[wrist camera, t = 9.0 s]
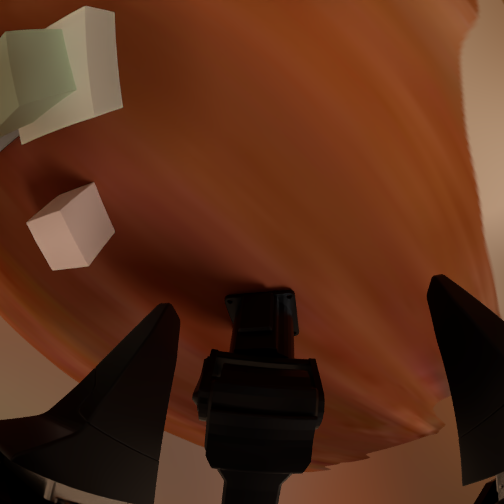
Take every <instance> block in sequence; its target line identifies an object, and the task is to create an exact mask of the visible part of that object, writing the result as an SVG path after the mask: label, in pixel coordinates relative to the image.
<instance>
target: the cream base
mask: <svg viewBox="0 0 504 504" xmlns="http://www.w3.org/2000/svg"><path fill="white" fill-rule="evenodd" d="M46 29H62V31H63V36H64V41H65V46H66V50H67V54H68V59H69V63H70V67H71V70H72V74H73V78H74V81H75V85H76V88H77V90H76V91H74V92H73V93H71V94H70V95H68V96H67V97H65V98H64V99H63V100H61V101H60V102H58V103H57V104H56V105H54V106H53V107H52V108H50V109H49V110H48V111H47V112H45V113H44V114H43V115H41V116H40V117H39V118H38V119H37V120H35V121H34V122H33V123H31V124H28V125H26V126H24V127H21V128H19V129H18V130H19V135H20V139H21V144H22V145H23V144H25V143H27V142H29V141H32V140H34V139H36V138H39V137H41V136H43V135H46V134H48V133H51V132H53V131H56V130H59V129H61V128H64V127H67V126H69V125H72V124H75V123H78V122H81V121H84V120H87V119H90V118H94V117H97V116H99V115H102V114H105V113H108V112H111V111H114V110H117V109H120V108H123V104H122V97H121V89H120V81H119V72H118V62H117V51H116V36H115V12H111V11H107V10H103V9H98V8H94V7H89V6H84V7H82V8H80V9H78V10H76V11H74V12H73V13H71V14H69V15H67V16H65V17H64V18H62V19H60V20H59V21H57V22H55V23H54V24H52V25H50V26H49V27H47V28H46Z"/></svg>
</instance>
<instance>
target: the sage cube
mask: <svg viewBox="0 0 504 504" xmlns="http://www.w3.org/2000/svg"><path fill="white" fill-rule="evenodd" d="M76 90H77V88H76V85H75V81H74V78H73V74H72V70H71V67H70V63H69V59H68V54H67V50H66V46H65V41H64V36H63V31H62V29H30V30H16V31H6V32H5V33H4V34H3V35H2V36H1V37H0V137H2V136H4V135H6V134H8V133H10V132H13V131H15V130H17V129H19V128H21V127H24V126H26V125H28V124H31V123H33V122H34V121H35V120H37V119H38V118H39V117H40V116H41V115H43V114H44V113H45V112H47V111H48V110H49V109H50V108H52V107H53V106H54V105H56V104H57V103H58V102H60V101H61V100H63V99H64V98H65V97H67V96H68V95H70V94H71V93H73V92H74V91H76Z"/></svg>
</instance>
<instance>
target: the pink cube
mask: <svg viewBox="0 0 504 504" xmlns="http://www.w3.org/2000/svg"><path fill="white" fill-rule="evenodd" d="M26 223H27V225H28V227H29V229H30V231H31V233H32V235H33V237H34V239H35V241H36V242H37V244H38V246H39V248H40V250H41V252H42V253H43V255H44V257H45V259H46V260H47V262H48V264H49V265H50V267H51V269H52V270H61V269H70V268H78V267H86V266H89V265H90V264H91V262H92V261H93V260H94V258H95V257H96V256H97V254H98V253H99V252H100V250H101V249H102V248H103V247H104V245H105V244H106V243H107V242H108V240H109V239H110V238H111V237H112V235H113V234H114V233H115V230H114V228H113V226H112V224H111V221H110V219H109V217H108V215H107V212H106V210H105V208H104V205H103V203H102V201H101V198H100V196H99V193H98V191H97V188H96V186H95V183H94V182H93V183H90V184H87V185H84V186H82V187H79V188H76V189H73V190H71V191H68V192H66V193H63V194H60V195H58V196H57V197H56V198H54V199H53V200H52V201H51V202H50V203H48V204H47V205H46V206H45V207H44V208H42V209H41V210H40V211H39V212H38V213H37V214H35V215H34V216H33V217H32V218H31V219H30V220H29V221H28V222H26Z"/></svg>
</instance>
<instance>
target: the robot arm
mask: <svg viewBox="0 0 504 504" xmlns="http://www.w3.org/2000/svg"><path fill="white" fill-rule="evenodd" d="M288 295H290V296H288ZM230 300H232V301H230ZM427 301H428V305H429V309H430V313H431V317H432V322H433V326H434V331H435V335H436V339H437V343H438V346H439V349H440V353H441V356H442V360H443V363H444V367H445V371H446V375H447V379H448V383H449V387H450V392H451V396H452V401H453V406H454V411H455V417H456V423H457V429H458V437H459V446H460V456H461V467H462V468H461V469H462V484H463V486H465V485H468V484H471V483H475V482H478V481H481V480H484V479H487V478H489V477H492V476H495V475H496V478H495V479H493V480H491V481H489V482H488V483H486V484H485V486H484V488H483V489H482V491H481V493H480V494H479V496H478V498H477V499H476V501H475V503H474V504H504V321H503V320H502V319H501V318H499V317H498V316H497V315H496V314H495V313H493V312H492V311H491V310H490V309H489V308H487V307H486V306H485V305H484V304H482V303H481V302H480V301H478V300H477V299H476V298H475V297H473V296H472V295H471V294H469V293H468V292H467V291H465V290H464V289H463V288H461V287H460V286H459V285H457V284H456V283H455V282H453V281H452V280H451V279H449V278H448V277H446V276H445V275H443V274H440V275H434V276H433V277H432V279H431V282H430V285H429V288H428V291H427ZM225 304H226V307H227V309H228V312H229V315H230V317H231V320H232V323H233V331H232V338H231V344H230V351H229V352H222V351H218V350H216V349H212V350H211V354H210V357H209V356H208V357H207V358H206V359H204V364H203V368H202V373H201V376H200V379H199V381H198V383H197V386H196V388H195V390H194V393H193V397H192V400H193V401H194V402H195V404H196V405H197V410H198V411H199V412H198V414H199V420H201V421H207V424H206V434H205V450H206V458H207V460H208V462H209V464H210V466H211V467H212V468H215V469H218V472H219V473H220V475H221V476H222V478H223V479H224V487H223V495H222V504H278V501H279V495H280V490H281V485H282V483H283V482H284V481H285V480H287V479H288V477H290V475H291V474H301V473H303V472H304V471H305V470H306V468H307V467H308V465H309V464H310V462H311V455H312V445H313V438H314V432H315V429H317V428H318V427H319V426H320V424H321V422H322V419H323V414H324V402H325V401H324V392H323V388H322V383H321V379H320V375H319V371H318V367H317V363H316V359H311V358H309V359H294V336H296V335H298V334H299V328H298V318H297V309H296V300H295V293H294V291H292V290H282V291H272V292H260V293H249V294H236V295H227V296H226V297H225ZM179 331H180V319H179V317H178V315H177V313H176V311H175V309H174V308H173V306H172V304H170V303H161V304H159V305H157V306H156V307H155V308H154V309H153V310H152V311H151V312H150V313H149V314H148V315H147V316H146V317H145V318H144V319H143V320H142V321H141V322H140V323H139V324H138V325H137V326H136V327H135V328H134V329H133V330H132V331H131V332H130V333H129V334H128V335H127V336H126V337H125V338H124V339H123V340H122V341H121V342H120V343H119V344H118V345H117V346H116V347H115V348H114V349H113V350H112V351H111V352H110V353H109V354H108V355H107V356H106V357H105V358H104V359H103V360H102V361H101V362H100V363H99V364H98V365H97V366H96V368H94V369H93V370H92V371H91V372H90V373H89V374H88V375H87V376H86V377H85V378H84V379H83V380H82V381H81V382H80V383H79V384H78V385H77V386H76V387H75V388H74V389H73V390H72V391H70V392H69V393H68V394H67V395H66V396H65V397H64V398H63V399H61V400H60V401H59V402H58V403H57V404H56V405H55V406H53V407H52V408H51V409H50V410H49V411H47V412H45V413H43V414H40V415H37V416H30V417H23V418H15V419H7V420H0V504H128V503H132V504H154V497H155V487H156V480H157V472H158V465H159V457H160V450H161V444H162V438H163V431H164V425H165V420H166V414H167V408H168V403H169V397H170V392H171V387H172V381H173V376H174V371H175V366H176V360H177V351H178V340H179Z"/></svg>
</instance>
